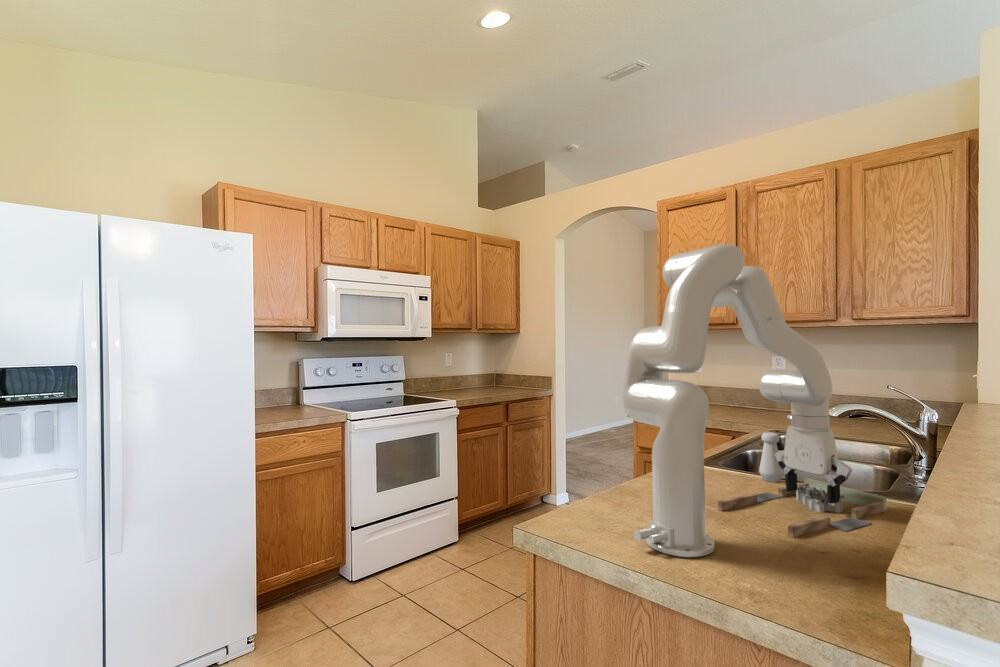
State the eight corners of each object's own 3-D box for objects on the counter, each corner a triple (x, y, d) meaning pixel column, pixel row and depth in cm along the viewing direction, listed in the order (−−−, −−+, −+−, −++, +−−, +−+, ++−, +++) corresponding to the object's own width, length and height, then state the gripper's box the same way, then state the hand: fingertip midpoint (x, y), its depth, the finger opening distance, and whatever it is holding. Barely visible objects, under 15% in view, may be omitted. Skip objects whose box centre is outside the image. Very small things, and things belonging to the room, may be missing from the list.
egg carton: (847, 515, 111) (847, 497, 111) (810, 513, 113) (810, 495, 113) (826, 499, 122) (826, 482, 122) (792, 498, 123) (792, 481, 123)
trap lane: (807, 543, 96) (807, 527, 96) (707, 506, 118) (707, 493, 118) (902, 514, 110) (901, 501, 110) (796, 486, 132) (796, 475, 132)
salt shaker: (781, 484, 134) (780, 435, 134) (757, 480, 137) (756, 433, 137) (784, 479, 138) (783, 432, 138) (761, 476, 142) (760, 430, 142)
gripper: (765, 418, 122) (766, 488, 122) (839, 429, 106) (841, 510, 106) (785, 416, 125) (787, 484, 125) (860, 426, 109) (861, 504, 109)
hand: (811, 496), depth 115 cm, fingers open, 9 cm apart
